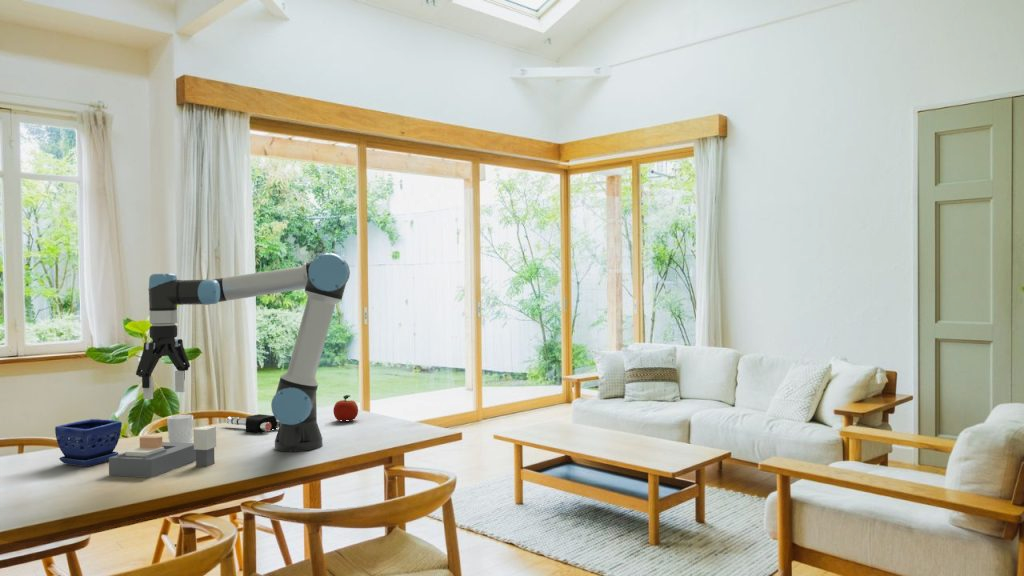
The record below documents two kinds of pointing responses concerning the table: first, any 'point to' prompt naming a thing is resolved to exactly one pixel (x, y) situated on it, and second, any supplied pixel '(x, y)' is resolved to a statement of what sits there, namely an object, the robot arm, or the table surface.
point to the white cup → (180, 428)
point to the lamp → (256, 422)
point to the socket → (153, 461)
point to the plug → (204, 445)
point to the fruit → (345, 409)
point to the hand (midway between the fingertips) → (164, 395)
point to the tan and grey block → (146, 446)
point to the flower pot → (88, 441)
